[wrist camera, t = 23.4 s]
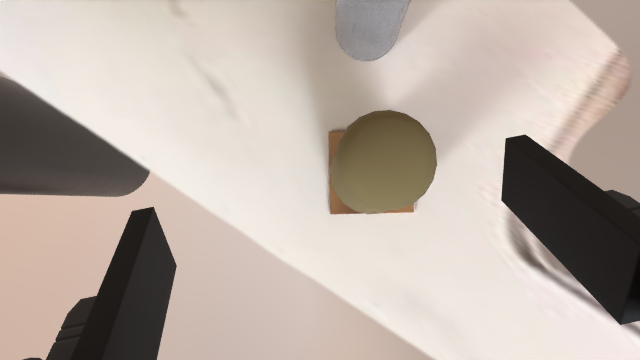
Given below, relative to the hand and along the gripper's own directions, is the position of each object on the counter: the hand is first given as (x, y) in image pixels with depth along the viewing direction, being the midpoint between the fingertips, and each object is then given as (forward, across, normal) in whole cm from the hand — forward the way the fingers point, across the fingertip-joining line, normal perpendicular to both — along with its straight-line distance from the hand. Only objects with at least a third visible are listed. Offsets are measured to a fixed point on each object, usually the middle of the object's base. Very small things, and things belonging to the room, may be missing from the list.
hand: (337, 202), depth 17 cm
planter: (+20, +6, +2) cm, 21 cm away
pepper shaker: (+14, +4, -7) cm, 16 cm away
